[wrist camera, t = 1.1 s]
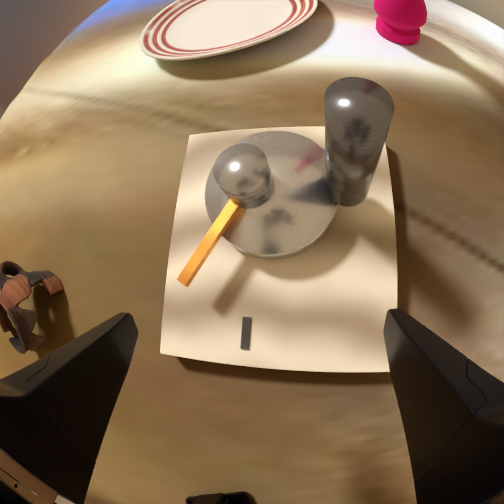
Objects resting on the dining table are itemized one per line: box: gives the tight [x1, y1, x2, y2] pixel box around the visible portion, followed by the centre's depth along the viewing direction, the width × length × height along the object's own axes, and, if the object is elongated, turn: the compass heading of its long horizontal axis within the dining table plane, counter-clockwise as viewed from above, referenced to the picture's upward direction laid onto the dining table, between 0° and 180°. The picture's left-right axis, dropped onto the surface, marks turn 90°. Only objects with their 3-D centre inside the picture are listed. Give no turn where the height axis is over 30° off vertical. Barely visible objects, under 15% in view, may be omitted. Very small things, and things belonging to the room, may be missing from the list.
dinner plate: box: [139, 0, 318, 60], centre depth 32 cm, size 27×27×3 cm
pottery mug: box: [0, 261, 64, 354], centre depth 26 cm, size 12×10×8 cm
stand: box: [160, 127, 397, 372], centre depth 23 cm, size 20×18×2 cm
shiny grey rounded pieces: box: [177, 77, 394, 287], centre depth 17 cm, size 13×13×11 cm
